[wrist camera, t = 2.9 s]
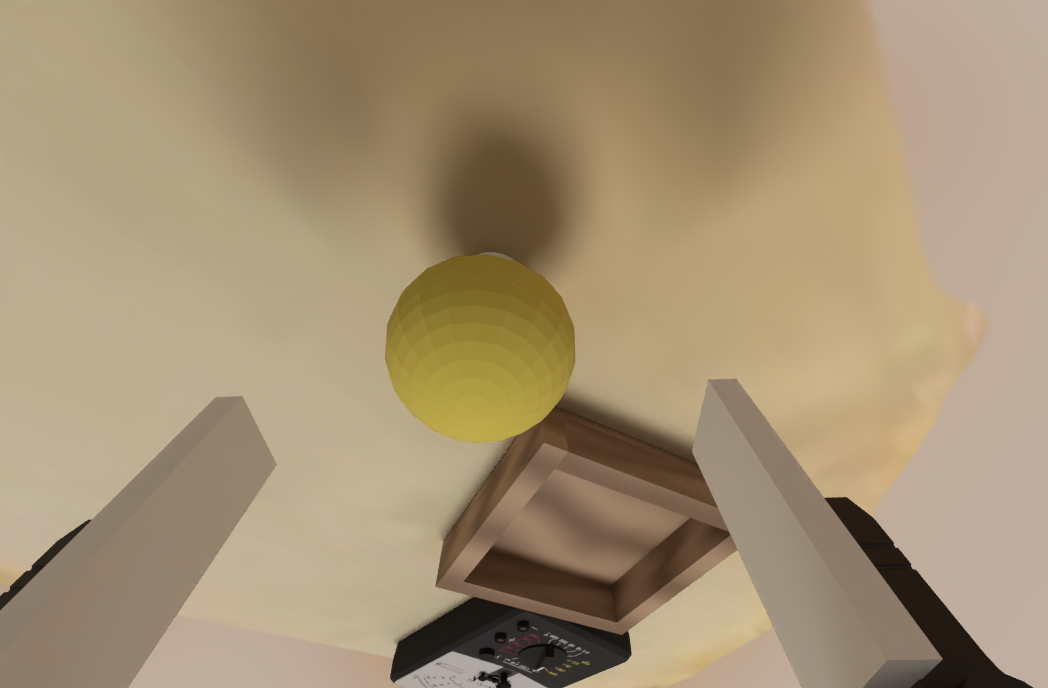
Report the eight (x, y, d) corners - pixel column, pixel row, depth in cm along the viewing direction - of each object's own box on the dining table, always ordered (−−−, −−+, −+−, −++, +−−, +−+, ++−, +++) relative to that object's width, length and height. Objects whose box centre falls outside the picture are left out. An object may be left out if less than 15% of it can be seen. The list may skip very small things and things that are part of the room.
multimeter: (627, 614, 39) (639, 677, 35) (493, 676, 47) (490, 735, 43) (526, 559, 35) (527, 626, 30) (396, 638, 42) (381, 701, 38)
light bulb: (399, 282, 21) (315, 420, 12) (479, 173, 18) (441, 254, 10) (504, 354, 23) (493, 511, 15) (589, 266, 20) (636, 397, 12)
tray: (541, 401, 25) (544, 442, 22) (743, 482, 29) (768, 526, 26) (443, 542, 32) (435, 586, 30) (614, 591, 36) (622, 634, 34)
